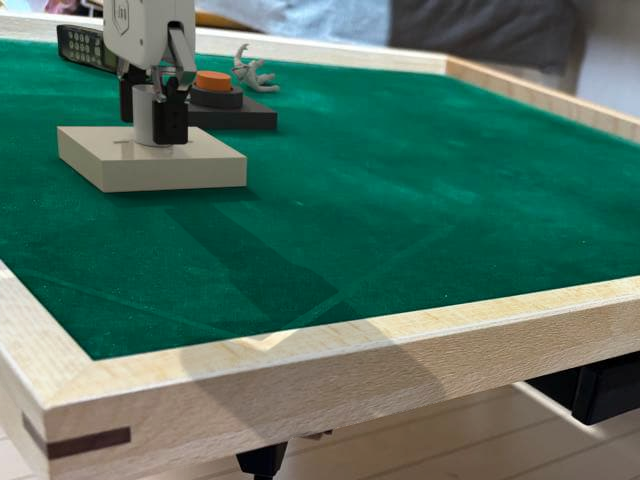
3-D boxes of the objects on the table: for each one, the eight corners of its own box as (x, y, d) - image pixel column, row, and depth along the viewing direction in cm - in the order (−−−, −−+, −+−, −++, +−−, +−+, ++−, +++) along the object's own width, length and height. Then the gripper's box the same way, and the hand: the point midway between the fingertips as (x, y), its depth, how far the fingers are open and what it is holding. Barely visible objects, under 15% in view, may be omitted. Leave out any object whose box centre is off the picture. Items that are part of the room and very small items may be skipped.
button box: (184, 130, 103) (184, 95, 101) (148, 107, 109) (147, 74, 107) (277, 130, 111) (278, 97, 109) (238, 109, 117) (239, 78, 115)
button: (205, 93, 106) (205, 78, 105) (190, 84, 108) (190, 70, 107) (236, 94, 108) (237, 79, 108) (221, 85, 111) (221, 71, 110)
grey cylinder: (143, 147, 84) (141, 90, 82) (127, 136, 86) (125, 80, 84) (180, 146, 87) (179, 91, 84) (163, 136, 89) (163, 81, 86)
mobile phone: (51, 21, 120) (147, 43, 117) (67, 21, 122) (161, 42, 120) (54, 60, 122) (148, 82, 120) (70, 58, 125) (162, 80, 122)
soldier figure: (288, 93, 136) (279, 80, 124) (263, 111, 136) (252, 100, 124) (255, 48, 134) (243, 32, 122) (229, 67, 134) (215, 52, 122)
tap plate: (103, 192, 80) (101, 158, 78) (58, 157, 86) (56, 124, 85) (246, 186, 89) (247, 155, 88) (196, 154, 96) (197, 125, 94)
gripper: (68, -91, 80) (79, 108, 88) (149, -62, 70) (153, 160, 78) (150, -78, 85) (154, 110, 93) (237, -49, 75) (232, 158, 83)
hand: (153, 131), depth 86 cm, fingers open, 6 cm apart
